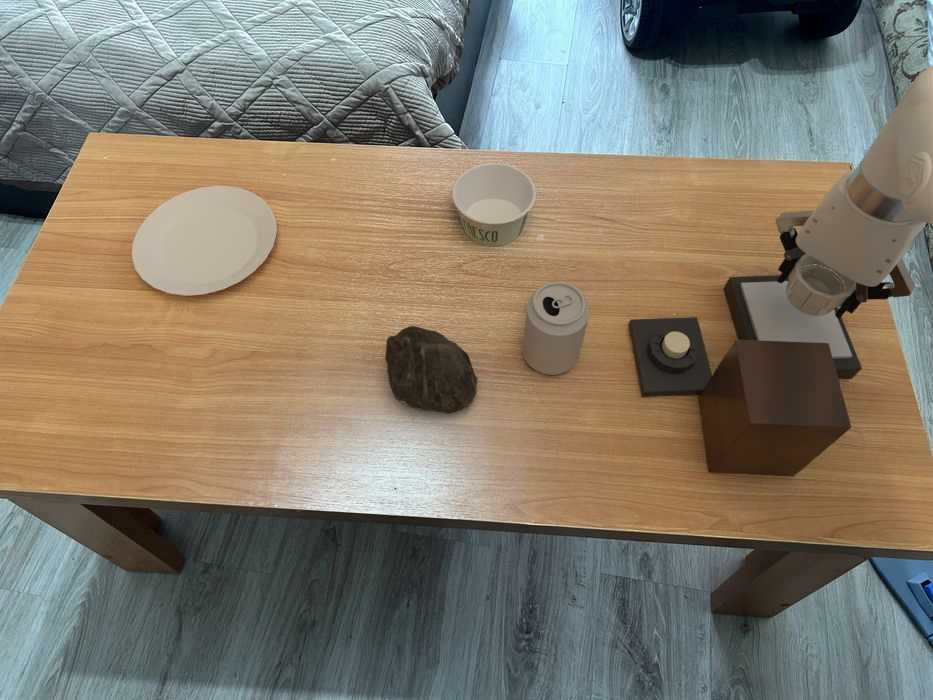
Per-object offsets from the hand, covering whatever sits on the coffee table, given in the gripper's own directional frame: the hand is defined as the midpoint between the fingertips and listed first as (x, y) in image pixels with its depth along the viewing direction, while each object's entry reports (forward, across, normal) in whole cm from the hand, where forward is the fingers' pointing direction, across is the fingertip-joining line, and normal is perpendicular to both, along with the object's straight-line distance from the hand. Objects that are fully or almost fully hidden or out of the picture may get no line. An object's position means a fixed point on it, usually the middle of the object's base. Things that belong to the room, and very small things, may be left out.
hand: (813, 292), depth 80 cm
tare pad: (+9, +9, +14) cm, 19 cm away
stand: (+9, -4, +17) cm, 20 cm away
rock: (+9, +29, +38) cm, 49 cm away
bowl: (+1, 0, 0) cm, 1 cm away
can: (+9, +21, +24) cm, 33 cm away
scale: (+9, 0, 0) cm, 9 cm away
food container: (+9, +42, +12) cm, 45 cm away
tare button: (+6, +9, +14) cm, 18 cm away
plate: (+9, +70, +44) cm, 83 cm away
